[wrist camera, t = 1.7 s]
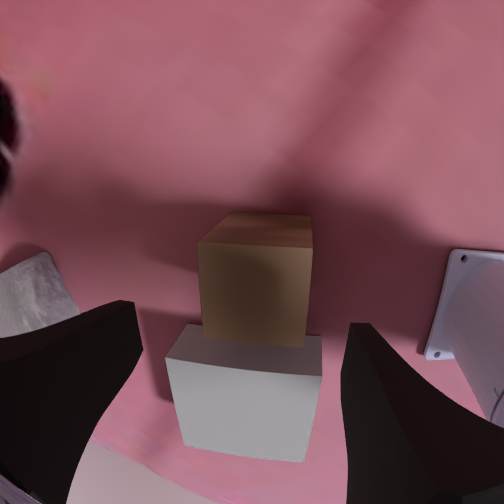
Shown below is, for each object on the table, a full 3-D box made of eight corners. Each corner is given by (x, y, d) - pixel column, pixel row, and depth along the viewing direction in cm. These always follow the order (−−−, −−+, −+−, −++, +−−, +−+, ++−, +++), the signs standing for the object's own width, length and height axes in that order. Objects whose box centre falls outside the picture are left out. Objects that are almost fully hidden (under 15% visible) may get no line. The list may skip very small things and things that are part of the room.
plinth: (321, 336, 19) (322, 376, 16) (306, 424, 22) (303, 462, 18) (187, 323, 21) (164, 357, 17) (199, 410, 24) (184, 445, 20)
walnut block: (310, 215, 17) (312, 248, 11) (306, 289, 19) (304, 347, 13) (231, 212, 18) (196, 242, 12) (232, 284, 19) (203, 337, 14)
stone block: (109, 331, 25) (47, 237, 21) (85, 370, 21) (9, 269, 17) (45, 340, 29) (-5, 270, 24) (24, 369, 25) (-32, 295, 20)
